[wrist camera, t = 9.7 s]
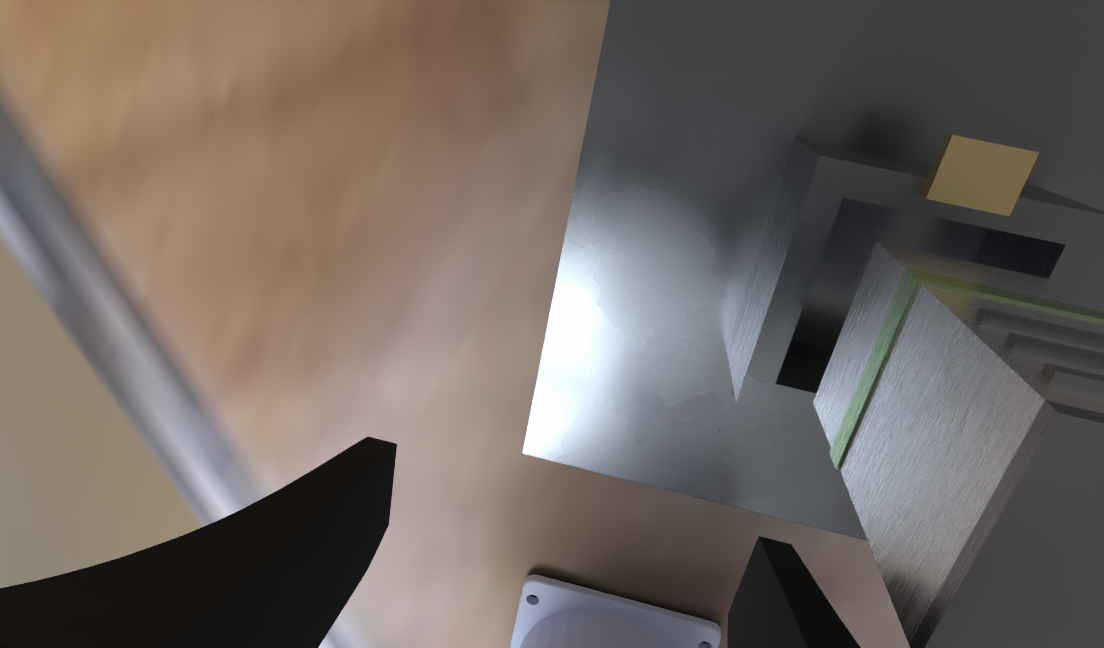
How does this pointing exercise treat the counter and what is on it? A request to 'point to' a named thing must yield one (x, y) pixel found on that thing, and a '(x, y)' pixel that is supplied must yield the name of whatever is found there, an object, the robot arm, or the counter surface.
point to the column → (974, 448)
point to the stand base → (797, 217)
